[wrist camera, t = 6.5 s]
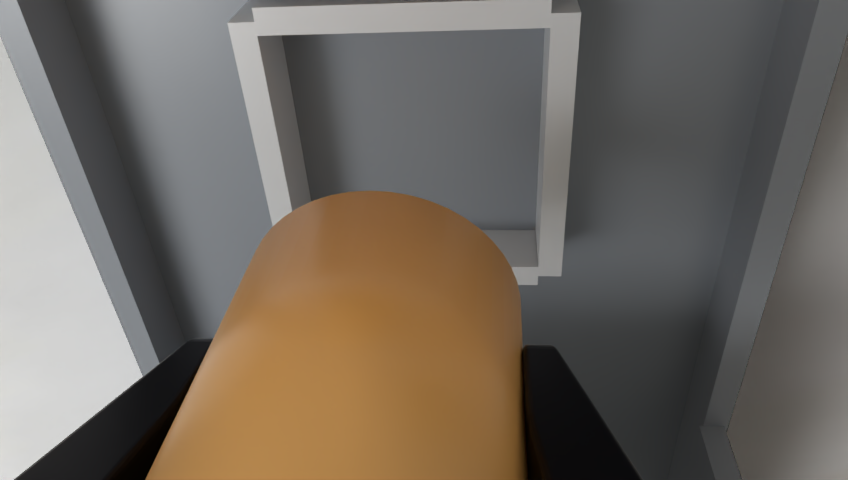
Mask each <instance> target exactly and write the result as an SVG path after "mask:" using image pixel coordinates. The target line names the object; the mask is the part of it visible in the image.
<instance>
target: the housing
mask: <svg viewBox="0 0 848 480" xmlns="http://www.w3.org/2000/svg"><path fill="white" fill-rule="evenodd" d="M847 35H848V0H0V37H1V39H2V41H3V44H4V46H5V48H6V51H7V53H8V56H9V58H10V60H11V63H12V65H13V68H14V70H15V72H16V75H17V77H18V79H19V82H20V84H21V87H22V89H23V91H24V94H25V96H26V99H27V101H28V103H29V106H30V108H31V110H32V113H33V115H34V118H35V120H36V122H37V125H38V127H39V130H40V132H41V134H42V137H43V139H44V141H45V144H46V146H47V149H48V151H49V153H50V156H51V158H52V161H53V163H54V165H55V168H56V170H57V172H58V175H59V177H60V180H61V182H62V184H63V187H64V189H65V192H66V194H67V196H68V199H69V201H70V203H71V206H72V208H73V211H74V213H75V215H76V218H77V220H78V223H79V225H80V227H81V230H82V232H83V234H84V237H85V239H86V242H87V244H88V246H89V249H90V251H91V254H92V256H93V258H94V261H95V263H96V265H97V268H98V270H99V273H100V275H101V277H102V280H103V282H104V285H105V287H106V289H107V292H108V294H109V296H110V299H111V301H112V304H113V306H114V308H115V311H116V313H117V316H118V318H119V320H120V323H121V325H122V327H123V330H124V332H125V335H126V337H127V339H128V342H129V344H130V347H131V349H132V351H133V354H134V356H135V358H136V361H137V363H138V366H139V368H140V370H141V373H142V375H143V376H144V375H146V374H147V373H148V372H149V371H151V370H152V369H153V368H154V367H156V366H157V365H158V364H159V363H161V362H162V361H163V360H164V359H166V358H167V357H168V356H169V355H171V354H172V353H173V352H174V351H176V350H177V349H178V348H179V347H181V346H182V345H183V344H184V343H186V342H187V341H189V340H190V339H192V338H214V336H215V334H216V332H217V330H218V328H219V326H220V324H221V322H222V320H223V317H224V315H225V313H226V311H227V309H228V307H229V305H230V303H231V301H232V299H233V297H234V295H235V293H236V291H237V288H238V286H239V284H240V282H241V280H242V278H243V276H244V274H245V272H246V270H247V268H248V266H249V264H250V262H251V259H252V257H253V255H254V253H255V251H256V249H257V248H258V246H259V244H260V242H261V241H262V239H263V238H264V236H265V235H266V234H267V233H268V232H269V230H270V229H271V228H272V227H273V226H274V225H275V224H276V223H277V222H279V221H280V220H281V219H282V218H283V217H284V216H286V215H287V214H289V213H291V212H292V211H294V210H295V209H297V208H299V207H301V206H303V205H305V204H307V203H309V202H312V201H314V200H317V199H320V198H323V197H327V196H330V195H335V194H340V193H346V192H354V191H386V192H394V193H400V194H406V195H411V196H415V197H418V198H422V199H425V200H429V201H431V202H434V203H436V204H439V205H441V206H443V207H446V208H448V209H450V210H452V211H453V212H455V213H457V214H459V215H461V216H463V217H464V218H466V219H467V220H468V221H470V222H471V223H473V224H474V225H475V226H477V227H478V228H480V229H481V230H482V231H483V232H484V233H485V234H486V235H487V236H488V237H489V238H490V239H491V240H492V241H493V242H494V243H495V244H496V246H497V247H498V248H499V249H500V250H501V252H502V253H503V254H504V256H505V258H506V259H507V261H508V263H509V264H510V266H511V268H512V270H513V273H514V275H515V278H516V280H517V283H518V288H519V292H520V298H521V320H522V344H523V347H524V346H525V345H527V344H539V345H553V346H555V347H556V348H557V350H558V351H559V353H560V354H561V356H562V357H563V359H564V360H565V362H566V363H567V365H568V366H569V368H570V369H571V371H572V372H573V374H574V375H575V377H576V378H577V380H578V381H579V383H580V384H581V386H582V387H583V389H584V391H585V392H586V394H587V395H588V397H589V398H590V400H591V401H592V403H593V404H594V406H595V407H596V409H597V410H598V412H599V413H600V415H601V416H602V418H603V419H604V421H605V422H606V424H607V426H608V427H609V429H610V430H611V432H612V433H613V435H614V436H615V438H616V439H617V441H618V442H619V444H620V445H621V447H622V448H623V450H624V451H625V453H626V454H627V456H628V457H629V459H630V460H631V462H632V464H633V465H634V467H635V468H636V470H637V471H638V473H639V474H640V476H641V477H642V479H643V480H742V478H741V475H740V472H739V469H738V466H737V463H736V460H735V457H734V454H733V451H732V448H731V445H730V442H729V439H728V436H727V433H726V432H727V429H728V426H729V422H730V419H731V416H732V413H733V409H734V406H735V403H736V399H737V396H738V393H739V390H740V386H741V383H742V380H743V376H744V373H745V370H746V367H747V363H748V360H749V357H750V353H751V350H752V347H753V344H754V340H755V337H756V334H757V330H758V327H759V324H760V321H761V317H762V314H763V311H764V308H765V304H766V301H767V298H768V294H769V291H770V288H771V285H772V281H773V278H774V275H775V271H776V268H777V265H778V262H779V258H780V255H781V252H782V248H783V245H784V242H785V239H786V235H787V232H788V229H789V225H790V222H791V219H792V216H793V212H794V209H795V206H796V203H797V199H798V196H799V193H800V189H801V186H802V183H803V180H804V176H805V173H806V170H807V166H808V163H809V160H810V157H811V153H812V150H813V147H814V143H815V140H816V137H817V134H818V130H819V127H820V124H821V120H822V117H823V114H824V111H825V107H826V104H827V101H828V97H829V94H830V91H831V88H832V84H833V81H834V78H835V75H836V71H837V68H838V65H839V61H840V58H841V55H842V52H843V48H844V45H845V42H846V38H847Z"/></svg>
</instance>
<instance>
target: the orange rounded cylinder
mask: <svg viewBox="0 0 848 480" xmlns="http://www.w3.org/2000/svg"><path fill="white" fill-rule="evenodd" d="M522 349H523V344H522V320H521V298H520V292H519V288H518V283H517V280H516V278H515V275H514V273H513V270H512V268H511V266H510V264H509V263H508V261H507V259H506V258H505V256H504V254H503V253H502V252H501V250H500V249H499V248H498V247H497V246H496V244H495V243H494V242H493V241H492V240H491V239H490V238H489V237H488V236H487V235H486V234H485V233H484V232H483V231H482V230H481V229H480V228H478V227H477V226H475V225H474V224H473V223H471V222H470V221H468V220H467V219H466V218H464V217H463V216H461V215H459V214H457V213H455V212H453V211H452V210H450V209H448V208H446V207H443V206H441V205H439V204H436V203H434V202H431V201H429V200H425V199H422V198H418V197H415V196H411V195H406V194H400V193H394V192H386V191H354V192H346V193H340V194H335V195H330V196H327V197H323V198H320V199H317V200H314V201H312V202H309V203H307V204H305V205H303V206H301V207H299V208H297V209H295V210H294V211H292V212H291V213H289V214H287V215H286V216H284V217H283V218H282V219H281V220H280V221H279V222H277V223H276V224H275V225H274V226H273V227H272V228H271V229H270V230H269V232H268V233H267V234H266V235H265V236H264V238H263V239H262V241H261V242H260V244H259V246H258V248H257V249H256V251H255V253H254V255H253V257H252V259H251V262H250V264H249V266H248V268H247V270H246V272H245V274H244V276H243V278H242V280H241V282H240V284H239V286H238V288H237V291H236V293H235V295H234V297H233V299H232V301H231V303H230V305H229V307H228V309H227V311H226V313H225V315H224V317H223V320H222V322H221V324H220V326H219V328H218V330H217V332H216V334H215V336H214V338H213V340H212V342H211V344H210V346H209V349H208V351H207V353H206V355H205V357H204V359H203V361H202V363H201V365H200V367H199V369H198V371H197V373H196V375H195V378H194V380H193V382H192V384H191V386H190V388H189V390H188V392H187V394H186V396H185V398H184V400H183V402H182V405H181V407H180V409H179V411H178V413H177V415H176V417H175V419H174V421H173V423H172V425H171V427H170V429H169V431H168V434H167V436H166V438H165V440H164V442H163V444H162V446H161V448H160V450H159V452H158V454H157V456H156V458H155V460H154V463H153V465H152V467H151V469H150V471H149V473H148V475H147V477H146V479H145V480H528V465H527V444H526V429H525V407H524V382H523V358H522Z"/></svg>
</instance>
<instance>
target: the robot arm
mask: <svg viewBox="0 0 848 480" xmlns="http://www.w3.org/2000/svg"><path fill="white" fill-rule="evenodd" d="M212 340H213V338H192V339H190V340H189V341H187V342H186V343H184V344H183V345H182V346H181V347H179V348H178V349H177V350H176V351H174V352H173V353H172V354H171V355H169V356H168V357H167V358H166V359H164V360H163V361H162V362H161V363H159V364H158V365H157V366H156V367H154V368H153V369H152V370H151V371H149V372H148V373H147V374H146V375H144V376H143V377H142V378H141V379H139V380H138V381H137V382H136V383H134V384H133V385H132V386H131V387H129V388H128V389H127V390H126V391H124V392H123V393H122V394H121V395H119V396H118V397H117V398H116V399H114V400H113V401H112V402H111V403H109V404H108V405H107V406H105V407H104V408H103V409H102V410H100V411H99V412H98V413H97V414H95V415H94V416H93V417H92V418H90V419H89V420H88V421H87V422H85V423H84V424H83V425H82V426H80V427H79V428H78V429H77V430H75V431H74V432H73V433H72V434H70V435H69V436H68V437H67V438H65V439H64V440H63V441H62V442H60V443H59V444H58V445H57V446H55V447H54V448H53V449H52V450H50V451H49V452H48V453H47V454H45V455H44V456H43V457H42V458H40V459H39V460H38V461H37V462H35V463H34V464H33V465H32V466H30V467H29V468H28V469H27V470H25V471H24V472H23V473H22V474H20V475H19V476H18V477H17V478H15V479H14V480H145V479H146V477H147V475H148V473H149V471H150V469H151V467H152V465H153V463H154V460H155V458H156V456H157V454H158V452H159V450H160V448H161V446H162V444H163V442H164V440H165V438H166V436H167V434H168V431H169V429H170V427H171V425H172V423H173V421H174V419H175V417H176V415H177V413H178V411H179V409H180V407H181V405H182V402H183V400H184V398H185V396H186V394H187V392H188V390H189V388H190V386H191V384H192V382H193V380H194V378H195V375H196V373H197V371H198V369H199V367H200V365H201V363H202V361H203V359H204V357H205V355H206V353H207V351H208V349H209V346H210V344H211V342H212ZM522 358H523V382H524V407H525V429H526V444H527V465H528V480H643V479H642V477H641V476H640V474H639V473H638V471H637V470H636V468H635V467H634V465H633V464H632V462H631V460H630V459H629V457H628V456H627V454H626V453H625V451H624V450H623V448H622V447H621V445H620V444H619V442H618V441H617V439H616V438H615V436H614V435H613V433H612V432H611V430H610V429H609V427H608V426H607V424H606V422H605V421H604V419H603V418H602V416H601V415H600V413H599V412H598V410H597V409H596V407H595V406H594V404H593V403H592V401H591V400H590V398H589V397H588V395H587V394H586V392H585V391H584V389H583V387H582V386H581V384H580V383H579V381H578V380H577V378H576V377H575V375H574V374H573V372H572V371H571V369H570V368H569V366H568V365H567V363H566V362H565V360H564V359H563V357H562V356H561V354H560V353H559V351H558V350H557V348H556V347H555V346H553V345H539V344H527V345H525V346H524V347H523V349H522Z"/></svg>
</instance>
